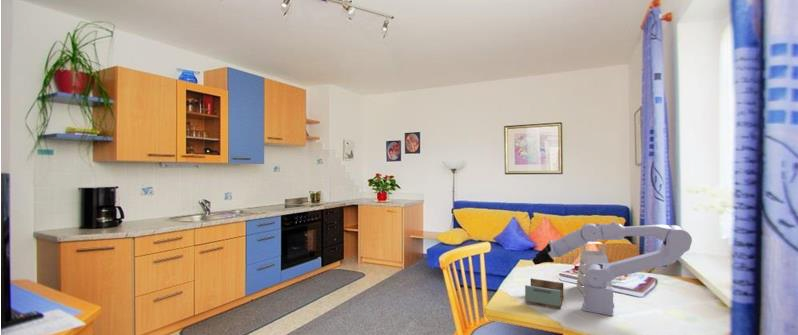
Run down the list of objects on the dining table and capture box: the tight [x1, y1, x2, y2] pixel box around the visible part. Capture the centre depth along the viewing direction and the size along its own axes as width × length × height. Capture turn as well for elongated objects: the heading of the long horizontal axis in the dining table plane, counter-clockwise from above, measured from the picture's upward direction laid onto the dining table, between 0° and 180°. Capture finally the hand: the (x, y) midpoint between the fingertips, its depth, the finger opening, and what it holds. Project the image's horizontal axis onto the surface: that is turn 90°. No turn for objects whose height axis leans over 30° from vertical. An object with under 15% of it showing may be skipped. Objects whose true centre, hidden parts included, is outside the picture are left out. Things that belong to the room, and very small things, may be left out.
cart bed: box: [525, 278, 565, 310], centre depth 139 cm, size 12×10×6 cm
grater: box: [576, 241, 613, 294], centre depth 149 cm, size 10×10×20 cm
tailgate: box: [524, 284, 560, 306], centre depth 133 cm, size 12×1×6 cm, turn 60°
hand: (535, 260), depth 141 cm, fingers open, 7 cm apart
